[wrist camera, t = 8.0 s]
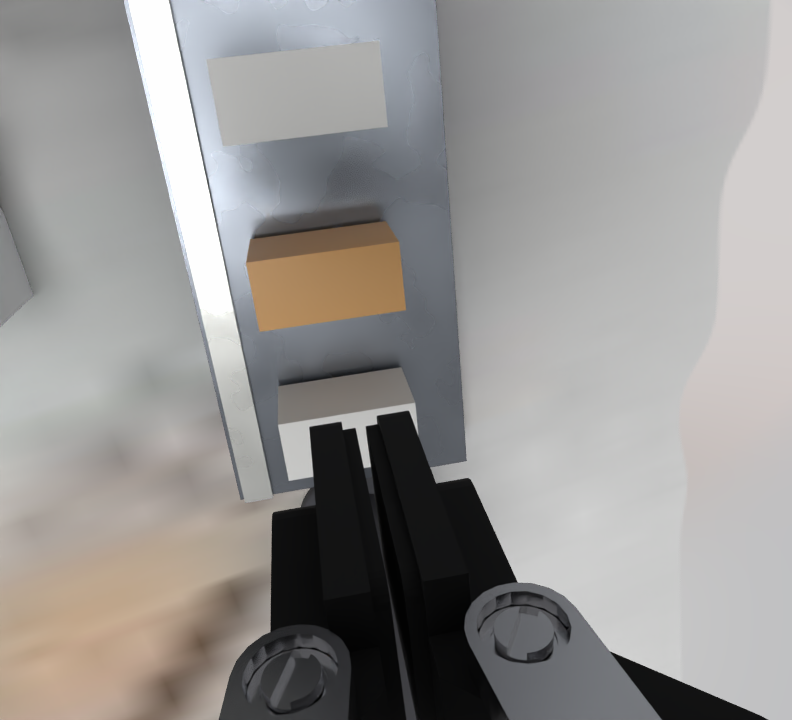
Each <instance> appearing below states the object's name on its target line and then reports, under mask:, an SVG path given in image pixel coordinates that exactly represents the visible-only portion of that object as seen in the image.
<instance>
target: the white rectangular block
mask: <svg viewBox="0 0 792 720" xmlns="http://www.w3.org/2000/svg"><path fill="white" fill-rule="evenodd" d="M402 411H409V412H410V414H411V417H412V420H413V422H414V425H415V428H416V431H417V433H418V426H417V415H416V405H415V401H414V398H413V396H412V393H411V391H410V388H409V386H408V383H407V380H406V378H405V375H404V373H403V370H402V368H401V367H399V368H393V369H386V370H380V371H373V372H367V373H360V374H354V375H348V376H341V377H335V378H328V379H322V380H316V381H309V382H303V383H296V384H290V385H284V386H278V428H279V433H280V438H281V444H282V449H283V454H284V459H285V464H286V469H287V474H288V479H289V481H291V480H297V479H303V478H309V477H313V467H312V455H311V443H310V431H309V427H311V426H317V425H323V424H329V423H335V422H342V428H343V430H345V429H351V428H356V432H357V437H358V442H359V447H360V452H361V457H362V461H363V466H364V468H368V467H371V464H370V457H369V450H368V442H367V435H366V426H369V425H375V424H377V416H378V415H384V414H390V413H396V412H402Z"/></svg>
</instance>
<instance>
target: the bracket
mask: <svg viewBox="0 0 792 720" xmlns="http://www.w3.org/2000/svg"><path fill="white" fill-rule="evenodd" d="M32 296H33V292H32V290H31V287H30V284H29V281H28V279H27V276H26V273H25V270H24V268H23V265H22V262H21V259H20V257H19V254H18V251H17V248H16V246H15V243H14V240H13V237H12V235H11V232H10V229H9V226H8V224H7V221H6V218H5V215H4V213H3V210H2V208H0V327H1V326H2V325H3V324H4V323H5V322H6V321H7V320H8V319H9V318H10V317H11V316H12V315H13V314H14V313H15V312H17V311H18V310H19V309H20V308H21V307H22V306H23V305H24V304H25V303H26V302H27V301H28V300H29V299H30V298H31V297H32Z"/></svg>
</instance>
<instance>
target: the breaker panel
mask: <svg viewBox="0 0 792 720" xmlns="http://www.w3.org/2000/svg"><path fill="white" fill-rule="evenodd" d="M124 4H125V8H126V13H127V17H128V21H129V26H130V30H131V34H132V38H133V43H134V47H135V51H136V55H137V60H138V64H139V68H140V72H141V77H142V81H143V85H144V89H145V94H146V98H147V102H148V106H149V111H150V115H151V119H152V124H153V128H154V132H155V136H156V141H157V145H158V149H159V153H160V158H161V162H162V166H163V170H164V175H165V179H166V183H167V187H168V192H169V196H170V200H171V204H172V209H173V213H174V217H175V222H176V226H177V230H178V234H179V239H180V243H181V247H182V251H183V256H184V260H185V264H186V268H187V273H188V277H189V281H190V285H191V290H192V294H193V298H194V302H195V307H196V311H197V315H198V319H199V324H200V328H201V332H202V337H203V341H204V345H205V349H206V354H207V358H208V362H209V366H210V371H211V375H212V379H213V383H214V388H215V392H216V396H217V400H218V405H219V409H220V413H221V417H222V422H223V426H224V430H225V435H226V439H227V443H228V447H229V452H230V456H231V460H232V464H233V469H234V473H235V477H236V481H237V486H238V490H239V494H240V498H241V500H242V499H244V500H245V503H248V502H254V501H260V500H265V499H271V498H273V494H277V493H283V492H289V491H295V490H300V489H306V488H312V487H314V479H313V477H309V478H303V479H297V480H291V481H289V479H288V474H287V469H286V464H285V459H284V454H283V449H282V444H281V438H280V433H279V428H278V386H284V385H290V384H296V383H303V382H309V381H316V380H322V379H328V378H335V377H341V376H348V375H354V374H360V373H367V372H373V371H380V370H386V369H393V368H399V367H401V368H402V370H403V373H404V375H405V378H406V380H407V383H408V386H409V388H410V391H411V393H412V396H413V398H414V401H415V405H416V415H417V426H418V436H419V439H420V442H421V444H422V447H423V450H424V452H425V455H426V458H427V461H428V463H429V466H430V467H435V466H440V465H446V464H452V463H458V462H464V461H467V460H466V445H465V430H464V415H463V400H462V385H461V370H460V355H459V341H458V326H457V311H456V296H455V281H454V266H453V251H452V236H451V221H450V206H449V191H448V176H447V161H446V146H445V131H444V116H443V101H442V87H441V72H440V57H439V42H438V27H437V12H436V0H124ZM372 41H379V43H380V54H381V64H382V74H383V84H384V94H385V104H386V114H387V124H388V127H382V128H374V129H365V130H357V131H349V132H341V133H332V134H324V135H316V136H307V137H299V138H291V139H282V140H274V141H266V142H258V143H249V144H241V145H233V146H224V147H223V144H222V138H221V133H220V128H219V123H218V118H217V113H216V108H215V103H214V98H213V93H212V88H211V83H210V77H209V72H208V67H207V62H206V59H214V58H223V57H233V56H242V55H251V54H260V53H270V52H279V51H288V50H298V49H307V48H316V47H325V46H335V45H344V44H353V43H362V42H372ZM383 221H386V222H387V224H388V225H389V227H390V228H391V230H392V231H393V233H394V234H395V236H396V238H397V239H398V241H399V245H400V255H401V265H402V275H403V285H404V295H405V305H406V310H404V311H397V312H390V313H384V314H377V315H370V316H363V317H357V318H350V319H343V320H336V321H330V322H323V323H316V324H309V325H302V326H296V327H289V328H282V329H275V330H269V331H262V332H259V327H258V322H257V316H256V311H255V306H254V301H253V296H252V291H251V286H250V281H249V276H248V271H247V266H246V260H247V254H248V248H249V243H250V239H256V238H264V237H271V236H278V235H286V234H293V233H301V232H308V231H316V230H323V229H331V228H338V227H345V226H353V225H360V224H368V223H375V222H383ZM364 471H365V476H366V478H370V477H372V472H371V467H368V468H364Z"/></svg>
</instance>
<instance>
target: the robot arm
mask: <svg viewBox="0 0 792 720" xmlns="http://www.w3.org/2000/svg"><path fill="white" fill-rule="evenodd" d="M309 431H310V443H311V455H312V467H313V479H314V491H315V503H316V505H312V506H306V507H301V508H295V509H289V510H284V511H278V512H273V514H272V561H271V632H270V633H268V634H265V635H263V636H262V637H260V638H259V639H258V640H256V641H255V642H254V643H252V644H251V645H250V646H248V647H247V649H246V650H245V651H244V652H243V653H242V655H241V656H240V657H239V658H238V660H237V661H236V663H235V665H234V668H233V670H232V672H231V675H230V677H229V681H228V685H227V689H226V693H225V697H224V701H223V705H222V709H221V713H220V717H219V720H406V712H405V705H404V698H403V690H402V683H401V675H400V668H399V660H398V653H397V646H396V638H395V631H394V623H393V616H392V608H391V602H390V595H391V600H392V605H393V610H394V614H395V619H396V624H397V629H398V634H399V639H400V643H401V648H402V653H403V658H404V663H405V667H406V672H407V677H408V682H409V687H410V692H411V696H412V701H413V706H414V711H415V716H416V720H767V719H765V718H764V717H762V716H760V715H757V714H755V713H753V712H750V711H748V710H746V709H744V708H741V707H739V706H737V705H734V704H732V703H729V702H727V701H725V700H722V699H720V698H718V697H715V696H713V695H711V694H708V693H706V692H704V691H701V690H699V689H696V688H694V687H692V686H690V685H687V684H685V683H683V682H680V681H678V680H676V679H673V678H671V677H668V676H666V675H664V674H661V673H659V672H657V671H654V670H652V669H650V668H647V667H645V666H643V665H640V664H638V663H636V662H633V661H631V660H629V659H626V658H624V657H622V656H619V655H617V654H615V653H612V652H610V651H609V650H608V649H607V647H606V646H605V645H604V644H603V642H602V641H601V640H600V638H599V637H598V636H597V634H596V633H595V632H594V630H593V629H592V628H591V627H590V625H589V624H588V623H587V621H586V620H585V619H584V617H583V616H582V615H581V613H580V612H579V611H578V610H577V608H576V607H575V606H574V605H573V604H572V603H571V602H570V601H569V600H568V599H567V598H566V597H565V596H563V595H561V594H559V593H557V592H556V591H554V590H552V589H550V588H547V587H544V586H540V585H536V584H533V583H518V582H517V580H516V578H515V576H514V573H513V571H512V569H511V567H510V565H509V562H508V560H507V558H506V556H505V554H504V551H503V549H502V547H501V545H500V543H499V540H498V538H497V536H496V534H495V532H494V529H493V527H492V525H491V523H490V521H489V518H488V516H487V514H486V512H485V509H484V507H483V505H482V503H481V501H480V498H479V496H478V494H477V492H476V490H475V487H474V485H473V483H472V482H471V480H470V479H469V478H465V479H460V480H454V481H448V482H443V483H437V484H436V482H435V480H434V477H433V474H432V471H431V469H430V466H429V463H428V461H427V458H426V455H425V452H424V450H423V447H422V444H421V442H420V439H419V436H418V433H417V431H416V428H415V425H414V422H413V420H412V417H411V414H410V412H409V411H402V412H396V413H390V414H384V415H378V416H377V424H375V425H369V426H366V435H367V442H368V450H369V457H370V464H371V472H372V479H373V487H374V494H375V501H376V509H377V516H378V523H379V531H380V538H381V545H382V553H383V558H382V553H381V548H380V544H379V539H378V534H377V529H376V524H375V519H374V515H373V510H372V505H371V500H370V495H369V490H368V486H367V481H366V476H365V471H364V466H363V461H362V457H361V452H360V447H359V442H358V437H357V432H356V428H351V429H345V430H343V428H342V422H335V423H329V424H323V425H317V426H311V427H309ZM383 559H384V563H383ZM384 565H385V568H384ZM385 571H386V573H385ZM386 576H387V578H386ZM387 581H388V583H387ZM388 586H389V589H388ZM389 590H390V595H389Z"/></svg>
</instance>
